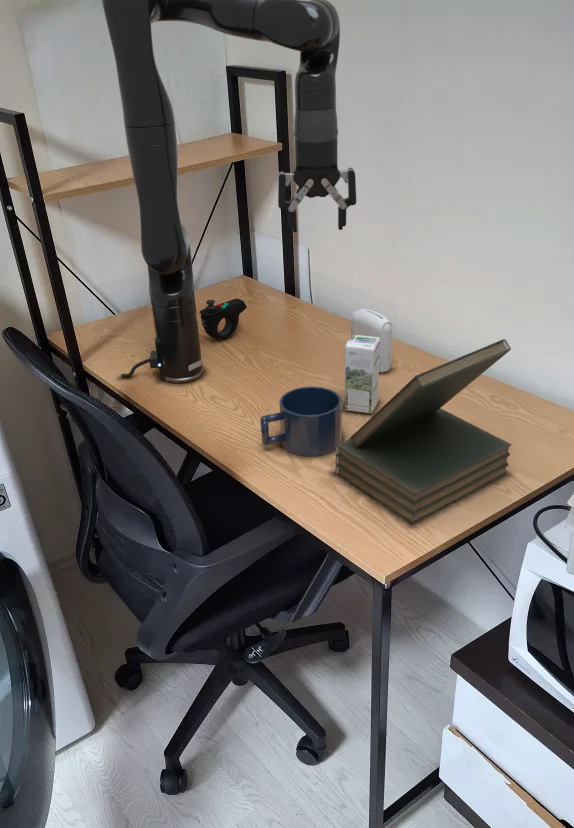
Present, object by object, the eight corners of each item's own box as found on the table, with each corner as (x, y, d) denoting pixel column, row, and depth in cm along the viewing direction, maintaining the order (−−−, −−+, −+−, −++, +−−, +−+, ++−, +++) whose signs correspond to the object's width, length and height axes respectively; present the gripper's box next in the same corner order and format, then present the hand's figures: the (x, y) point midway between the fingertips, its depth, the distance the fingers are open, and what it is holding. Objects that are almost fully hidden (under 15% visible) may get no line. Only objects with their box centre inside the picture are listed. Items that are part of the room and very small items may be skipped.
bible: (427, 431, 150) (437, 306, 135) (507, 474, 137) (528, 342, 122) (335, 473, 139) (335, 343, 124) (412, 525, 126) (422, 386, 111)
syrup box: (378, 401, 160) (381, 335, 151) (371, 415, 155) (373, 348, 147) (351, 398, 161) (352, 332, 153) (344, 412, 157) (344, 345, 148)
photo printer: (347, 360, 176) (348, 308, 169) (361, 354, 178) (362, 302, 171) (380, 375, 169) (381, 321, 162) (394, 369, 171) (396, 315, 164)
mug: (326, 420, 154) (326, 381, 149) (351, 448, 146) (351, 407, 141) (252, 438, 150) (249, 398, 145) (273, 467, 142) (271, 426, 137)
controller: (199, 342, 187) (195, 302, 181) (239, 327, 193) (236, 287, 188) (210, 347, 184) (206, 307, 178) (250, 331, 191) (247, 292, 185)
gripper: (354, 129, 139) (353, 222, 149) (275, 133, 139) (279, 225, 149) (358, 138, 133) (357, 234, 143) (275, 142, 133) (280, 238, 143)
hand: (317, 230), depth 146 cm, fingers open, 8 cm apart
